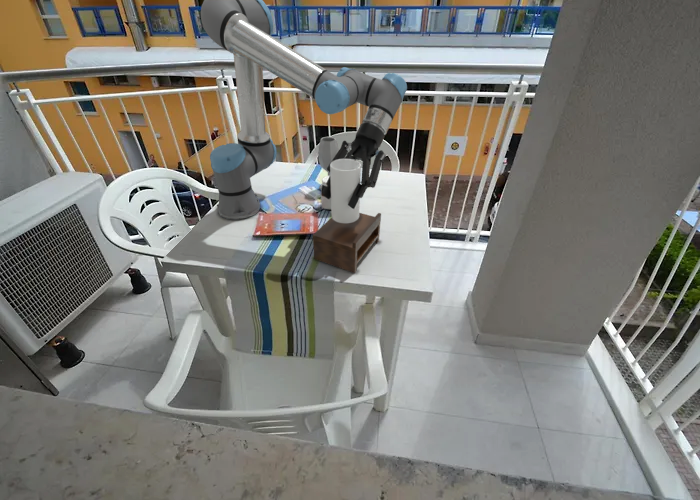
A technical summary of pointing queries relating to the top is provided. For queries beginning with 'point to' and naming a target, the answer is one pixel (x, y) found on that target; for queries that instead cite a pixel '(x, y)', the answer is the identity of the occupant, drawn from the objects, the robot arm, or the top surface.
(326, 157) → the wineglass
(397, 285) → the top surface
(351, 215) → the cup
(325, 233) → the small wooden box
